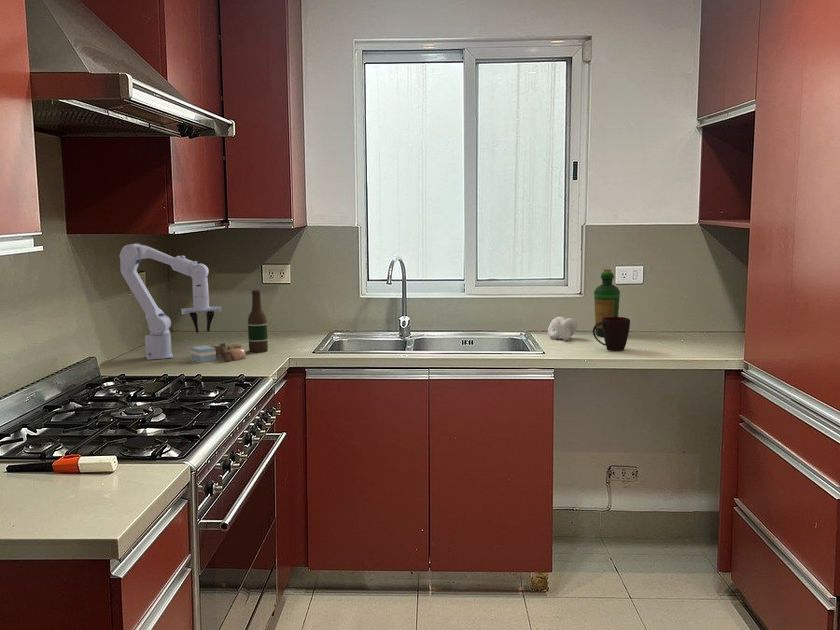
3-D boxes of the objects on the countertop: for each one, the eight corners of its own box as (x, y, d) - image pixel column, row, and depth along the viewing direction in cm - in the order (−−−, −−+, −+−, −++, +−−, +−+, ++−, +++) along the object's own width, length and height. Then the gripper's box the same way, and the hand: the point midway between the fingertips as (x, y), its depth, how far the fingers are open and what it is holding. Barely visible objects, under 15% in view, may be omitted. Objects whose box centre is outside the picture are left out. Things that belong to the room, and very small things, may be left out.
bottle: (588, 335, 342) (589, 269, 338) (608, 333, 346) (609, 268, 342) (603, 338, 332) (605, 271, 328) (624, 336, 337) (626, 269, 333)
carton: (200, 363, 293) (200, 350, 293) (191, 360, 299) (190, 347, 299) (216, 361, 297) (215, 347, 297) (206, 358, 303) (205, 345, 303)
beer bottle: (264, 353, 311) (261, 291, 307) (245, 352, 312) (242, 291, 309) (271, 349, 318) (269, 289, 315) (253, 349, 320) (250, 289, 316)
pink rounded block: (230, 361, 297) (229, 351, 296) (227, 358, 302) (227, 349, 302) (246, 359, 299) (246, 350, 298) (244, 356, 305) (243, 347, 304)
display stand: (199, 363, 292) (199, 352, 291) (195, 356, 306) (194, 345, 305) (231, 361, 295) (230, 349, 295) (225, 354, 310) (224, 342, 309)
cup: (632, 351, 303) (633, 320, 302) (597, 353, 302) (597, 321, 300) (623, 347, 313) (623, 316, 311) (588, 348, 312) (589, 317, 310)
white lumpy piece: (540, 339, 334) (540, 317, 333) (558, 335, 342) (558, 314, 341) (562, 342, 326) (562, 320, 324) (580, 338, 334) (580, 317, 332)
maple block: (231, 357, 304) (230, 346, 304) (227, 355, 308) (227, 345, 307) (241, 355, 306) (240, 345, 306) (237, 354, 310) (237, 344, 309)
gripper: (181, 298, 297) (183, 334, 298) (221, 296, 302) (223, 332, 304) (180, 296, 303) (182, 332, 305) (219, 294, 308) (221, 329, 310)
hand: (202, 331), depth 305 cm, fingers open, 3 cm apart
